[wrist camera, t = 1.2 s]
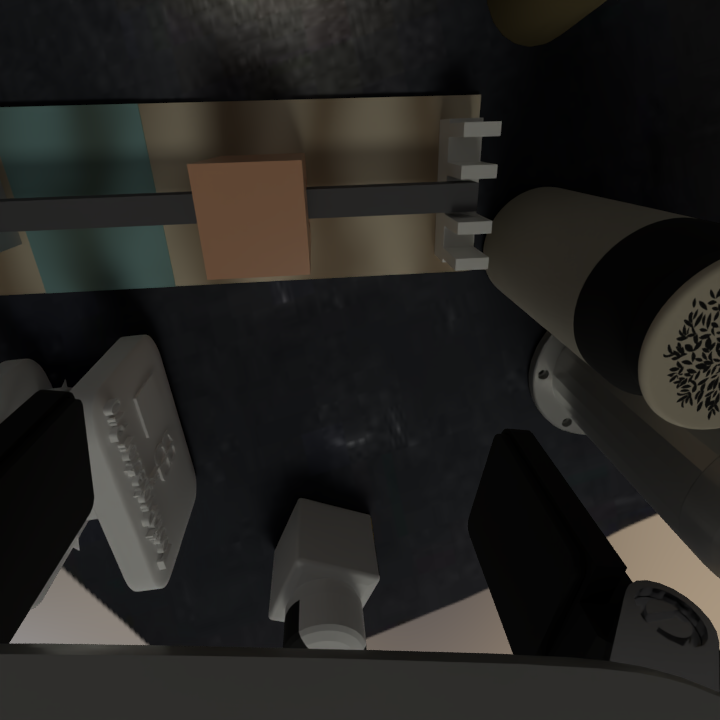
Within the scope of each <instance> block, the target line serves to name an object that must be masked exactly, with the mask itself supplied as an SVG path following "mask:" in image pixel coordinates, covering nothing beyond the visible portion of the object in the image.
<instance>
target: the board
mask: <svg viewBox="0 0 720 720" xmlns="http://www.w3.org/2000/svg"><path fill="white" fill-rule="evenodd" d="M480 103H481V95H451V96H413V97H375V98H337V99H300V100H262V101H224V102H186V103H148V104H106V105H68V106H30V107H0V180H1V183H2V186H3V189H4V192H5V195H6V198H7V199H8V198H34V197H59V196H85V195H110V194H136V193H162V192H187V191H191V185H190V179H189V174H188V168H187V164H190V163H194V162H198V161H202V160H206V159H210V158H215V157H219V156H231V155H260V154H289V153H305V162H306V175H307V187H315V186H340V185H366V184H391V183H417V182H437V181H438V157H439V133H440V120H442V119H455V118H479V116H480ZM435 228H436V213H429V214H406V215H383V216H361V217H338V218H315V219H310V230H311V272H310V275H293V276H274V277H255V278H236V279H217V280H207V275H206V270H205V264H204V258H203V253H202V247H201V242H200V236H199V230H198V225H197V224H178V225H155V226H132V227H110V228H87V229H64V230H41V231H18V233H19V235H20V238H21V241H22V244H21V245H18V246H16V247H13V248H10V249H8V250H5V251H2V252H0V295H15V294H34V293H61V292H80V291H99V290H118V289H137V288H156V287H175V286H186V285H205V284H224V283H243V282H262V281H281V280H300V279H319V278H338V277H357V276H376V275H395V274H414V273H433V272H452V271H455V270H454V269H453V268H452V267H451V266H450V265H449V264H448V263H447V262H442V261H441V260H440V259H439V258H438V257H437V256H436V255H435V254H434V252H435ZM459 271H468V270H459Z"/></svg>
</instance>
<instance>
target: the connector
mask: <svg viewBox="0 0 720 720" xmlns="http://www.w3.org/2000/svg"><path fill="white" fill-rule="evenodd" d="M0 199H7V198H6V195H5V192H4V189H3V186H2V183H1V180H0ZM21 244H22V241H21V238H20V235H19V233H18V232H0V252H2V251H5V250H8V249H10V248H13V247H16V246H18V245H21Z"/></svg>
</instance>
